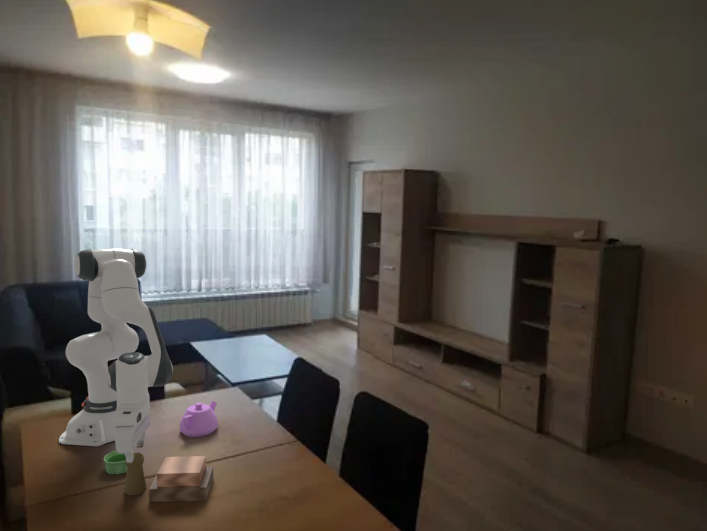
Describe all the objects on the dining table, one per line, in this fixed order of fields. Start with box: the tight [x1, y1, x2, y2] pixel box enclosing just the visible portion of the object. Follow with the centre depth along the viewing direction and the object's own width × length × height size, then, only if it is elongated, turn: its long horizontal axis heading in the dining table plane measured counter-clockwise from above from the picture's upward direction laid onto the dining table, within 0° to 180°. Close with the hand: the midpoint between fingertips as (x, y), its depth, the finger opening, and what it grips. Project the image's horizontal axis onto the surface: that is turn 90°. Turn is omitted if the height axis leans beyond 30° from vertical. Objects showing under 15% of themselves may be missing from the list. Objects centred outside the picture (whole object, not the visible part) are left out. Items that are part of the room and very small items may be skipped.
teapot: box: [179, 400, 219, 438], centre depth 194 cm, size 14×20×11 cm
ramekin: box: [103, 449, 135, 475], centre depth 164 cm, size 9×9×4 cm
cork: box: [124, 452, 147, 496], centre depth 152 cm, size 6×6×11 cm
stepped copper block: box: [148, 455, 214, 503], centre depth 152 cm, size 16×12×8 cm
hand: (135, 453), depth 151 cm, fingers open, 8 cm apart
